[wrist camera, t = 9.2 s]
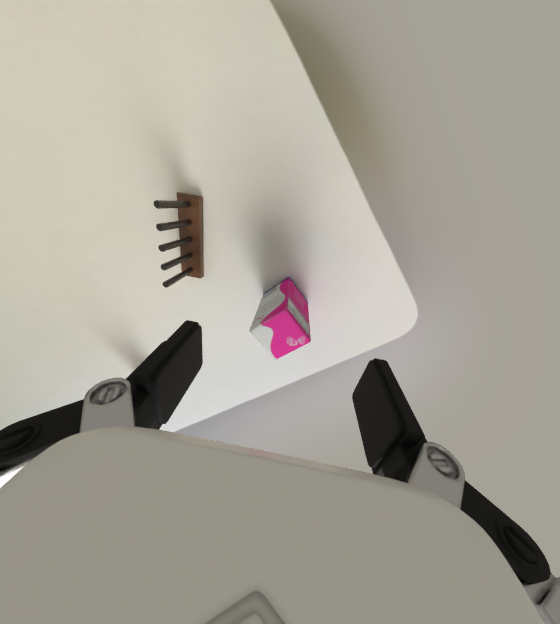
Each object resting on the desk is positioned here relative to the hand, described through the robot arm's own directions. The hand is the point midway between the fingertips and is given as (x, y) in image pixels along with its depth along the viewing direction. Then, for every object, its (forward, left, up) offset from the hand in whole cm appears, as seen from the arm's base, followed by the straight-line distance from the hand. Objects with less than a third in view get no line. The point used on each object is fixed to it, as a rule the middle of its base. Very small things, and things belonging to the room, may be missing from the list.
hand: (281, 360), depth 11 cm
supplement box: (+7, 0, -24) cm, 25 cm away
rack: (0, -16, -24) cm, 29 cm away
